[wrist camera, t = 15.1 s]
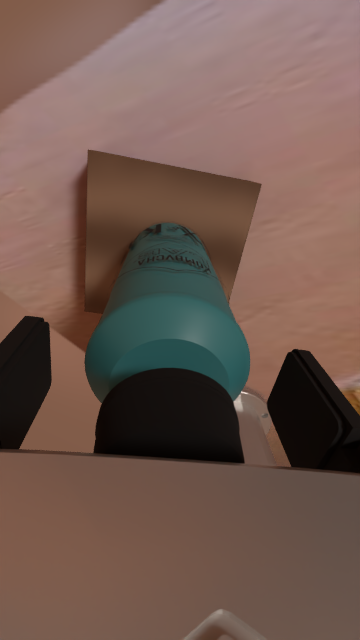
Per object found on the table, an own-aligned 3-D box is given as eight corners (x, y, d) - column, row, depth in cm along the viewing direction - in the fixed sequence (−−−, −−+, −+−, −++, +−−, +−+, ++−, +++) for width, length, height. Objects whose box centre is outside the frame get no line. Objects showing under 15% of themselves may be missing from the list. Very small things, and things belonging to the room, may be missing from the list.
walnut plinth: (216, 314, 31) (221, 328, 28) (91, 297, 29) (84, 311, 27) (251, 181, 25) (261, 184, 22) (96, 150, 23) (88, 149, 21)
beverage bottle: (210, 284, 26) (308, 538, 8) (137, 297, 26) (84, 571, 9) (199, 207, 23) (320, 358, 5) (117, 224, 23) (-31, 418, 6)
